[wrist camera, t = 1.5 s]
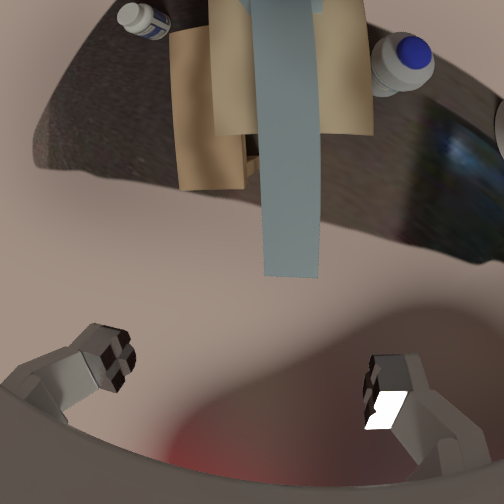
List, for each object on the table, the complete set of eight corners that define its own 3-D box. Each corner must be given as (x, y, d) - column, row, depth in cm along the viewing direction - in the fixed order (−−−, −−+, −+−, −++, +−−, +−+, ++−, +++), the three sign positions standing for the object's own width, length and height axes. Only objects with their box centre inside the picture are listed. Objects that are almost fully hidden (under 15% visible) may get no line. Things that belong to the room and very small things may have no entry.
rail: (314, -39, 13) (312, -74, 9) (327, 256, 22) (329, 290, 18) (246, -35, 14) (228, -67, 10) (262, 253, 23) (248, 286, 19)
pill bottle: (150, 13, 38) (120, -2, 29) (176, 15, 37) (148, -2, 29) (140, 39, 40) (108, 28, 31) (165, 42, 40) (135, 30, 31)
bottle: (347, 68, 37) (370, 30, 19) (383, 52, 35) (426, 11, 17) (370, 106, 39) (409, 94, 21) (405, 90, 36) (462, 72, 18)
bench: (257, 48, 38) (234, 21, 26) (264, 170, 46) (244, 188, 34) (208, 54, 40) (169, 33, 27) (215, 171, 48) (179, 190, 35)
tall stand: (336, 43, 36) (355, -37, 12) (340, 129, 41) (373, 135, 18) (264, 45, 38) (207, -28, 15) (268, 129, 43) (215, 136, 20)
